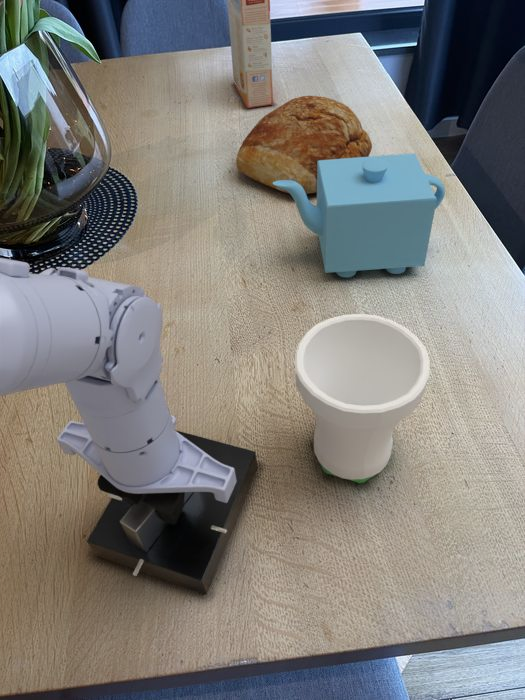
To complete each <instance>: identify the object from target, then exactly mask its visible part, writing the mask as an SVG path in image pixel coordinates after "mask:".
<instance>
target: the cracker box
mask: <svg viewBox="0 0 525 700" xmlns="http://www.w3.org/2000/svg"><path fill="white" fill-rule="evenodd" d="M226 4H227V17H228V25H229V26H228V28H229V40H230V53H231V65H232V77H233V78H232V79H233V85H234V87H235V89H236V90H237V91H238V94H239V96H240V99H242V101H243V104H244V105H245V107H246V108H247V109H251V108H258V107H265V106H266V107H267V106H271V105H274V92H273V87H274V86H273V59H272V58H273V57H272V32H271V31H272V29H271V0H226ZM234 81H235V82H234ZM235 83H236V84H235Z"/></svg>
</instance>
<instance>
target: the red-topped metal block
mask: <svg viewBox="0 0 525 700" xmlns="http://www.w3.org/2000/svg"><path fill="white" fill-rule="evenodd" d="M192 493H193V492H185V497H184V503H185V502H186V500H187V499H188V498H189V497H190V495H191V494H192ZM146 494H147V493H143V494H142V496H141V498H140V499H139V501H138V503H137V504H134V505H133V506H132V507H131V509H130V510H129V511H128V512H127V513H126V515H125V516H124V517H123V518H122V519H121V521H120V523H121V525H122V527H123V529H124V531H125V533H126V535H127V537H128V539H129V540H130V542H131V543H132V544H133V545H135V546H136V547H138V548H139V549H141V550H142V551H144V552H147V551H148V550H149V548H150V547H151V546H152V545H153V543H154V542H155V541H156V539H157V538H158V537H159V536H160V534H161V533H162V532H163V530H164V529H165V528H166V526H167V525H168V524H169V523H166V522H165V521H164V520H163V518H162V517H161V515H160V513H159V512H158V511H157V510H156V509H155V508H153V507H150V506H147V505H143V503H142V501H143V499H144V498H145V496H146Z"/></svg>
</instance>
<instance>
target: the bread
mask: <svg viewBox="0 0 525 700" xmlns="http://www.w3.org/2000/svg"><path fill="white" fill-rule="evenodd" d="M372 149H373V143H372V140H371V137H370V136H369V133H368V132H367V131H366V130H365V129H363V126H362V123H361V120H360V119H359V118H358V116H357V115H356V114H355V113H354V111H353V110H352V109H351V108H350V107H349V106H348V105H346V104H344V103H343V102H341V101H338V100H335V99H332V98H329V97H326V96H317V95H303V96H299V97H294V98H292V99H290V100H289V101H287V102H285V103H283V104H281V105H280V106H278V107H276V108H275V109H273V110H271V111H270V112H269V113H267V114H265V115H264V116H263V117H262V118H261V119H259V121H258V122H257V123H256V124H255V126H253V128H252V129H251V131H249V133H248V134H247V135H246V137H245V138H244V140H243V141H242V143H241V145H240V147H239V148H238V151H237V154H236V167H237V170H238V172H240V173H241V174H243V175H245V176H247V177H249V178H250V179H252V180H254V181H255V182H257V183H258V182H259V183H261V184H263V185H265V186H267V187H269V188H272V189H275V190H278V191H281V192H283V193H287V194H290V193H289V192H287V191H286V190H284V189H282V188H280V187H277V186H275V185H273V182H275V181H279V180H291V181H295V182H297V183H298V184H300V185H301V186H302V187H303V189H304V191H305V193H306V195H309V194H317V162H318V161H320V160H331V159H344V158H357V157H370V154H371V152H372Z"/></svg>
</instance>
